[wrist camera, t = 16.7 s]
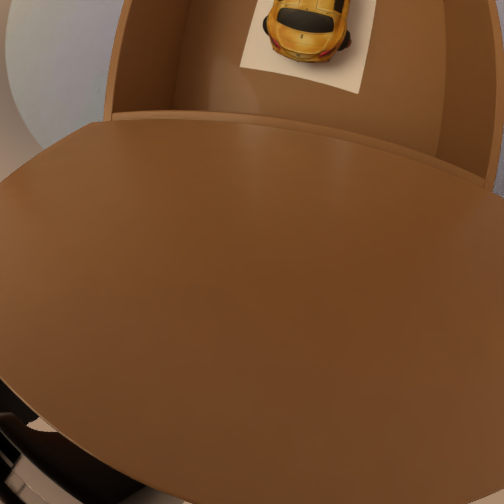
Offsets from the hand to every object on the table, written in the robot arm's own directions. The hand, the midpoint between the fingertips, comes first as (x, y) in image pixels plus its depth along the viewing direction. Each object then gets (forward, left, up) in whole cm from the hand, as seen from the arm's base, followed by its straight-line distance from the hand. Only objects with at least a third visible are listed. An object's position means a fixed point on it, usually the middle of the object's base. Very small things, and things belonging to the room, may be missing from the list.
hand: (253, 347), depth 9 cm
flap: (+6, 0, +3) cm, 6 cm away
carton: (+15, 0, -7) cm, 16 cm away
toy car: (+15, 0, -7) cm, 16 cm away
